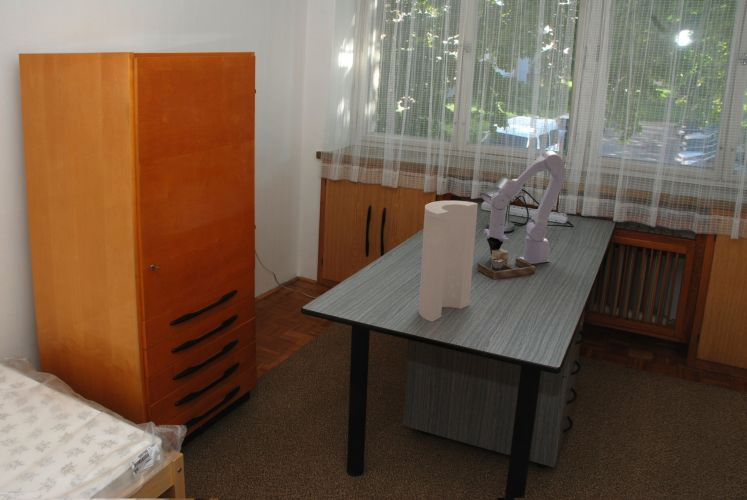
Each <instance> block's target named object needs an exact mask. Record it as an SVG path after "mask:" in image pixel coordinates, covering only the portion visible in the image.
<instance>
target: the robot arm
mask: <svg viewBox="0 0 747 500" xmlns="http://www.w3.org/2000/svg"><path fill="white" fill-rule="evenodd" d="M547 171H548V173H549V175H550V180H549V181H548V185H547V186H546V189H545V190H544V193H543V196H542V198H541V200H540V203H539V205H538V207H537V209H536V212H535V214H534V215H532V216H531V219H530V220H529V221H528V222H527V223H526V224H525V232H527V235H526V236H525V241H524V252H523V256H519V257H518V259H520V260H522V261H524V262H526V263H528V264H530V265H533V264H541V263H548V262H550V260H549V255H550V248H551V246H550V242H549V240H548V239H547V238H546V236H547V227H548V223H549V222H548V219H549V217H550V215H551V212H552V210H553V208H554V205H555V204H556V202H557V198H558V196H559V194H560V192H561V189H562V187H563V185H564V182H565V180H566V169H565V161H564V159H563V157H562V156H561V155H559V154H557V153H556V152H555V151H553V150H552V149H551V150H549V149H548V150H545V151H544V152H543V153H542V154H540V155H539V156H537V157H536V158H535V160H534V161H533V162H532V163H531V164H530V165H529V166H528V167H527V168H526V169H525V170H524V171H523V172H522V173H521V174H520V175H519V176H518V177H517V178H512V179H510V180H507V181H506V184H505V185H503V187H501V189H497V192H494V193H493V194H492V195H491V198H490V203H491V207H490V209H491V211H490V214H489V215H490V216H489V228H484V229H483V235H486V237H488V238H486V241H487V243H488V245H489V250H490V251H489V252H490V256H491V257H492V250H497V249H501V247H502V245H503V244H510V238H509V237H508V236H506V235H505V234H504V229H505V220H506V219H505V218H506V208H507V207H508V205H509V202H510V201H511V200H513V199H514V198H515V197H516V196H517V195H519V193H521V191H522V190H523V185H525V184H526V183H527V182H528V181H529V180H531V179H532V178H533V177H534V176H536V175H537V174H538V173H541V172H547Z"/></svg>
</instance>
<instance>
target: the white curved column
mask: <svg viewBox="0 0 747 500" xmlns="http://www.w3.org/2000/svg"><path fill="white" fill-rule="evenodd" d="M423 217H424V218H423V233H422V234H423V235H422V246H421V247H422V251H421V263H420V265H421V266H420V283H419V296H418V297H419V299H418V300H419V301H418V313H419V314H418V315H420V317H422V318H423V319H424V320H426V321H428V322H429V323H430V322H433V321H436V320H438V319H440V318H442V310H443V308H455V309H459V310H461V309H463V308H466V307H469V306H470V301H471V300H470V299H471V291H472V290H471V289H472V276H473V265H474V254H475V253H474V252H475V243H476V242H475V241H476V231H477V230H476V229H477V218H478V203H477V202H472V201H466V200H465V201H464V200H438V201H436V200H435V201H432V202H429V203H427V204H425V205H424V216H423Z"/></svg>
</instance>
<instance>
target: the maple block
mask: <svg viewBox="0 0 747 500" xmlns="http://www.w3.org/2000/svg"><path fill="white" fill-rule="evenodd" d="M508 258H509V252H508V251H507V250H504V249H502V248H500V249H497V250H492V256H491V260H490V261H491V262H492V259H502V260H503V261H504V262H503V263H504V264H508V260H509V259H508Z"/></svg>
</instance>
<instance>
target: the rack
mask: <svg viewBox="0 0 747 500" xmlns="http://www.w3.org/2000/svg"><path fill="white" fill-rule="evenodd" d="M514 264H515V265H516V266H518V267H519V268H518V267H517V268H514V267H511V266H510V265H508V264H507V263H503V271H496V272H495V271H493V270H491V268H489V267H487V266H485V265H483V264H481V263H480V262H477V266H476V271H477V270H478V271H479V272H481V273H482V274H485V275H486V276H487V277H489V278H491V279H494V280H496V279H502V278H503V279H505V278H509V277H517V276H523V275H530V274H535V273H536V266H534V265H533V264H530V263H528V262H525V261H523V260H521V259H519V257H518V258H517V257H515V263H514Z"/></svg>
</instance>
